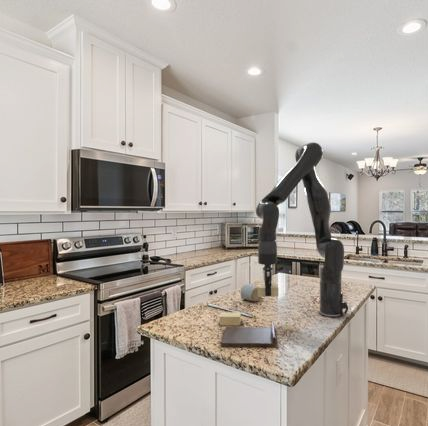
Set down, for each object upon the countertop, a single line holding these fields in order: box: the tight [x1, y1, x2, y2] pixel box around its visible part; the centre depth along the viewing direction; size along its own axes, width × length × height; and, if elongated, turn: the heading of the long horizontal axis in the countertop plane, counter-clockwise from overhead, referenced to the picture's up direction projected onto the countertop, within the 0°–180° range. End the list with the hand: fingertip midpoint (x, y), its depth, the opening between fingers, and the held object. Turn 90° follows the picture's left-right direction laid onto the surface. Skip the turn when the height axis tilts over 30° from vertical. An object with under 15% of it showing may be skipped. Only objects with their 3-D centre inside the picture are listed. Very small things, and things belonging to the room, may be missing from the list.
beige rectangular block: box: [257, 284, 279, 298], centre depth 121 cm, size 8×5×4 cm, turn 89°
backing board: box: [220, 321, 276, 348], centre depth 107 cm, size 18×14×3 cm
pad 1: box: [219, 311, 242, 327], centre depth 121 cm, size 8×5×4 cm, turn 89°
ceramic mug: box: [240, 283, 262, 303], centre depth 153 cm, size 11×8×8 cm
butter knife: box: [206, 303, 253, 317], centre depth 136 cm, size 1×27×3 cm
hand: (267, 293), depth 121 cm, fingers closed on beige rectangular block, 5 cm apart
